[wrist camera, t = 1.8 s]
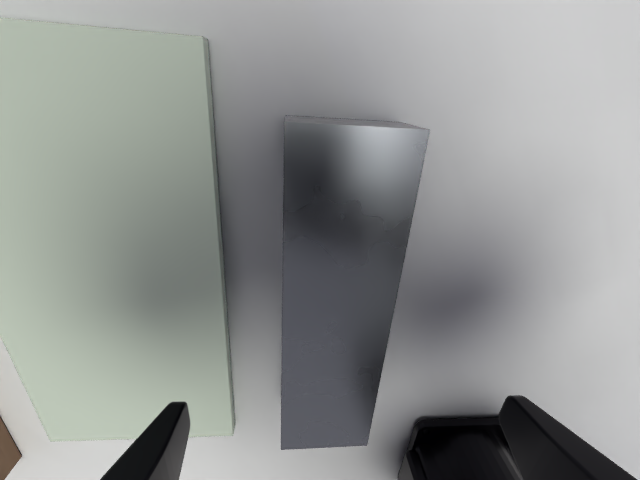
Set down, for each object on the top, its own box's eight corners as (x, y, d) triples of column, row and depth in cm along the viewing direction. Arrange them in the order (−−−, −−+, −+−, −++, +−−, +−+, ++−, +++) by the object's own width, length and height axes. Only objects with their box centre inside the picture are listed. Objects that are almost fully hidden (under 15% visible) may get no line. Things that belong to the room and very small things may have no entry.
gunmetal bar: (396, 121, 11) (430, 129, 9) (355, 390, 17) (366, 445, 14) (286, 114, 11) (284, 121, 8) (282, 392, 17) (280, 449, 14)
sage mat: (207, 39, 9) (202, 36, 9) (235, 424, 17) (232, 435, 16) (-129, 8, 8) (-157, 2, 8) (58, 429, 16) (50, 441, 16)
